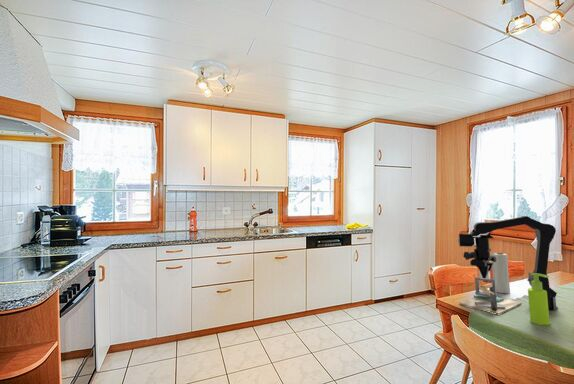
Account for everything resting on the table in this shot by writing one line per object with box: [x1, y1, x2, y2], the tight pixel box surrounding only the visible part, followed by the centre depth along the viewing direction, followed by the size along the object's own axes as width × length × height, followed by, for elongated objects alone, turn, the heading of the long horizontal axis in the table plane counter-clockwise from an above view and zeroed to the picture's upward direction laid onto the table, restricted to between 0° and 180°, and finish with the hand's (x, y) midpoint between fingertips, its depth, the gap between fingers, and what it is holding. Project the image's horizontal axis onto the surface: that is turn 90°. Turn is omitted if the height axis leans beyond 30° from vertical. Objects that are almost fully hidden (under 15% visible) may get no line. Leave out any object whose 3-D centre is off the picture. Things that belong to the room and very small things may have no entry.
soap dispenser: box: [527, 272, 551, 326], centre depth 113 cm, size 6×7×20 cm
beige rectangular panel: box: [458, 294, 523, 315], centre depth 135 cm, size 17×24×2 cm
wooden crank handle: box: [479, 282, 497, 311], centre depth 135 cm, size 6×23×7 cm, turn 145°
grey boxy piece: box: [474, 269, 499, 297], centre depth 140 cm, size 4×8×12 cm, turn 38°
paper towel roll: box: [490, 252, 511, 294], centre depth 155 cm, size 7×6×21 cm
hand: (485, 277), depth 140 cm, fingers closed on grey boxy piece, 2 cm apart
